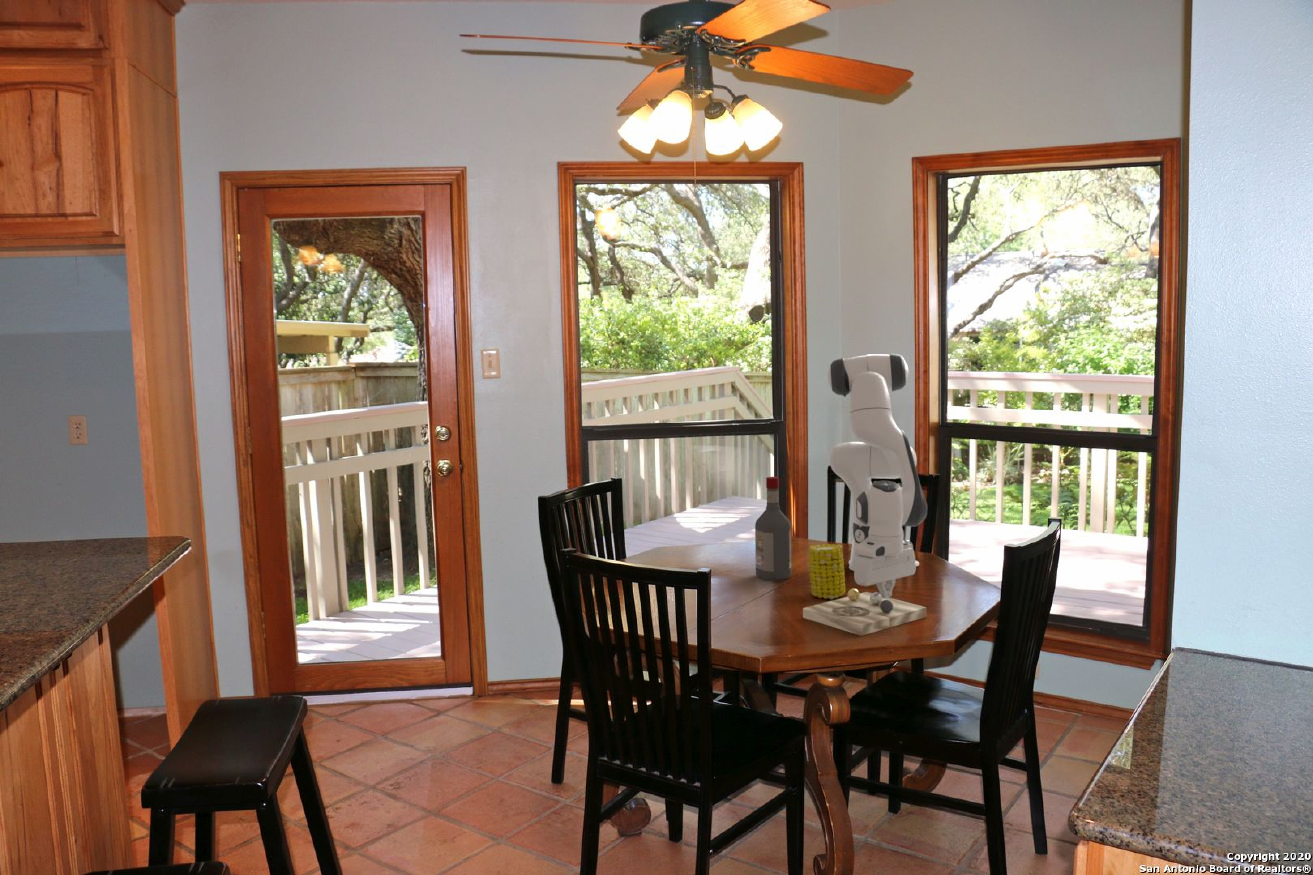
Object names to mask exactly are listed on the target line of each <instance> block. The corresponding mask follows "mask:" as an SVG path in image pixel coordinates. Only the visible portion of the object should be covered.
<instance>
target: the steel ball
mask: <svg viewBox="0 0 1313 875" xmlns="http://www.w3.org/2000/svg"><path fill="white" fill-rule="evenodd" d="M882 600H883V598H882V595H881V594H880V593H879V592H873V594H871V596H870V601H871V603H872V604H874V605H879V604H880V603H881V602H882Z"/></svg>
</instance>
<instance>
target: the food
mask: <svg viewBox="0 0 1313 875" xmlns="http://www.w3.org/2000/svg"><path fill="white" fill-rule="evenodd" d="M843 556H844V554H843V546H842V545H841V544H837V545H836V544H833V543H832V544H830V543H826V544H824V543H822V544H815V545H809V547H808V563H809V566H808V567H809V576H810V577H809V579H810V588H811V593H812V596H813V597H816V598H819V599H822V598H823V599H825V600H827V599H829V600H830V601H833V600H835V599H839V597H843V595H844V594H846V583H845V582H846V578H845V567H844V560H845V559H844V557H843Z"/></svg>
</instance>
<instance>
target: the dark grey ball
mask: <svg viewBox="0 0 1313 875" xmlns="http://www.w3.org/2000/svg"><path fill="white" fill-rule="evenodd" d="M880 608H881V610H882V611H883V612H885V613H889V612H891V611H892V609H893V604H892V602H891V601H889V600H884V601H882V602H881V604H880Z"/></svg>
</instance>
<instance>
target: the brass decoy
mask: <svg viewBox="0 0 1313 875" xmlns="http://www.w3.org/2000/svg"><path fill="white" fill-rule="evenodd" d="M846 594H847V596H846V597H848V598H849V599H850V600H852V601H855V600H857V599H858V598H859V596H860V591H859V590H858V589H857V588H849V590H848V591H847V593H846Z"/></svg>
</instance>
